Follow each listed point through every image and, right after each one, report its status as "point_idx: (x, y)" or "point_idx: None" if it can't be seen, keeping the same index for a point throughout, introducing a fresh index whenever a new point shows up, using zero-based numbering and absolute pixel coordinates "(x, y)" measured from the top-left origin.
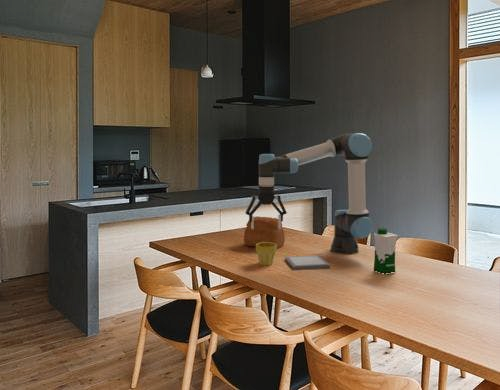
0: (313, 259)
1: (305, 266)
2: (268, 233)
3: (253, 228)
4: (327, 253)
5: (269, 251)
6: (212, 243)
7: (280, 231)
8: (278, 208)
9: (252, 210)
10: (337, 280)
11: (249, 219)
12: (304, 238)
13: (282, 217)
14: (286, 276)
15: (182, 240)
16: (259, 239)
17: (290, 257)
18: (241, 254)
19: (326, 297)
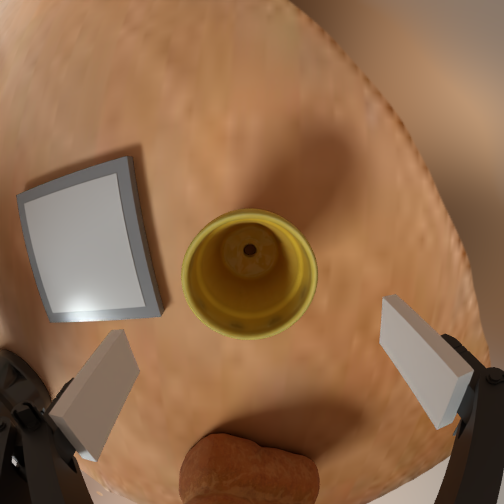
0: (56, 266)
1: (83, 169)
2: (232, 476)
3: (385, 300)
4: (47, 367)
5: (231, 211)
6: (394, 453)
7: (187, 488)
8: (33, 496)
9: (499, 440)
10: (34, 61)
11: (464, 352)
12: (140, 487)
13: (53, 406)
14: (172, 58)
15: (444, 450)
16: (268, 462)
17: (137, 301)
18: (340, 377)
19: None
